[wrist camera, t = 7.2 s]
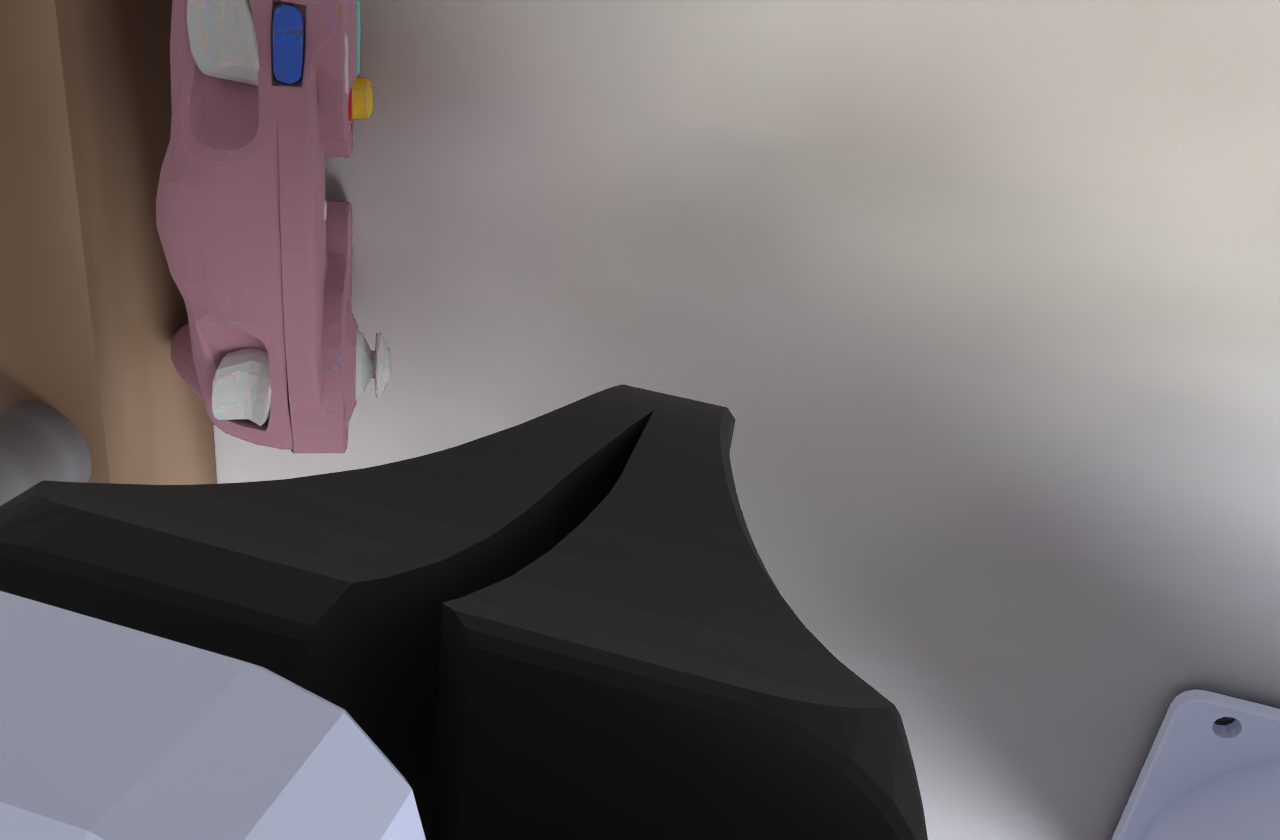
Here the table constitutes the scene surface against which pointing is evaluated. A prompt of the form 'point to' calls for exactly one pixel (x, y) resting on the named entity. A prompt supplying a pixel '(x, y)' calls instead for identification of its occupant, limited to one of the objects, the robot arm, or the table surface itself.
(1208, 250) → the table surface
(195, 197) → the video game controller
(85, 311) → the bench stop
